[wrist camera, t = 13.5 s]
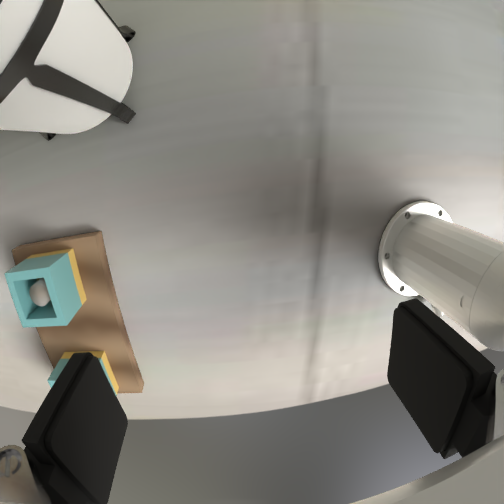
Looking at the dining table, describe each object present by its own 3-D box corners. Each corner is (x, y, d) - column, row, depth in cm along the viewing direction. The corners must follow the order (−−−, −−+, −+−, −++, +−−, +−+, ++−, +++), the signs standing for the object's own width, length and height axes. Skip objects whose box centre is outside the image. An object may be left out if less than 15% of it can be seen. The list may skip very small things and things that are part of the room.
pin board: (144, 383, 38) (135, 419, 31) (69, 383, 37) (54, 415, 30) (101, 230, 32) (77, 249, 25) (19, 245, 31) (-12, 264, 24)
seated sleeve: (86, 299, 32) (67, 325, 26) (45, 303, 31) (22, 327, 25) (73, 248, 30) (48, 267, 24) (31, 255, 29) (4, 273, 24)
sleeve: (119, 387, 36) (109, 419, 30) (80, 387, 35) (67, 417, 29) (104, 350, 34) (90, 381, 28) (64, 351, 33) (47, 380, 28)
